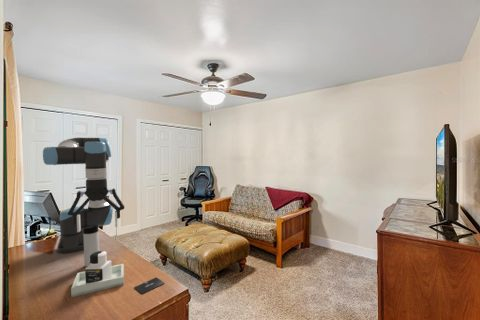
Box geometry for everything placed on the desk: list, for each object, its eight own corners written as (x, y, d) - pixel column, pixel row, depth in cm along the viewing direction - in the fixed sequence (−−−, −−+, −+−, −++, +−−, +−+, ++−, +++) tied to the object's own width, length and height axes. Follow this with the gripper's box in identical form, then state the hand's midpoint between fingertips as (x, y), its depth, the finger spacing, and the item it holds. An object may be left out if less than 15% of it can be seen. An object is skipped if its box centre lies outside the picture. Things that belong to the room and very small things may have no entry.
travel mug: (93, 269, 112) (91, 227, 111) (81, 267, 113) (79, 227, 112) (103, 262, 118) (101, 223, 117) (92, 261, 119) (90, 223, 118)
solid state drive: (133, 288, 96) (133, 287, 95) (156, 278, 103) (156, 277, 103) (141, 295, 91) (141, 293, 91) (165, 284, 98) (164, 282, 98)
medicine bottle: (85, 285, 96) (84, 256, 96) (96, 276, 103) (95, 249, 103) (102, 285, 96) (101, 256, 96) (112, 276, 103) (111, 249, 103)
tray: (77, 280, 102) (77, 272, 101) (124, 270, 109) (123, 263, 109) (71, 297, 90) (71, 288, 90) (123, 285, 98) (123, 276, 98)
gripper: (57, 181, 89) (59, 236, 90) (129, 177, 100) (130, 226, 101) (62, 179, 96) (64, 230, 97) (129, 175, 107) (130, 221, 108)
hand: (98, 228), depth 99 cm, fingers open, 13 cm apart
